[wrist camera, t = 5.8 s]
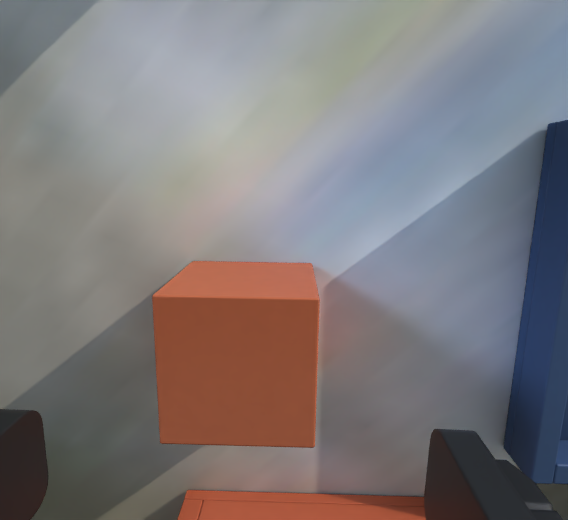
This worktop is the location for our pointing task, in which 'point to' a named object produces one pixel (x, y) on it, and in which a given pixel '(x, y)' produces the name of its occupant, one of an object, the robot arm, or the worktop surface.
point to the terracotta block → (237, 354)
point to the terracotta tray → (297, 506)
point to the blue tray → (544, 331)
